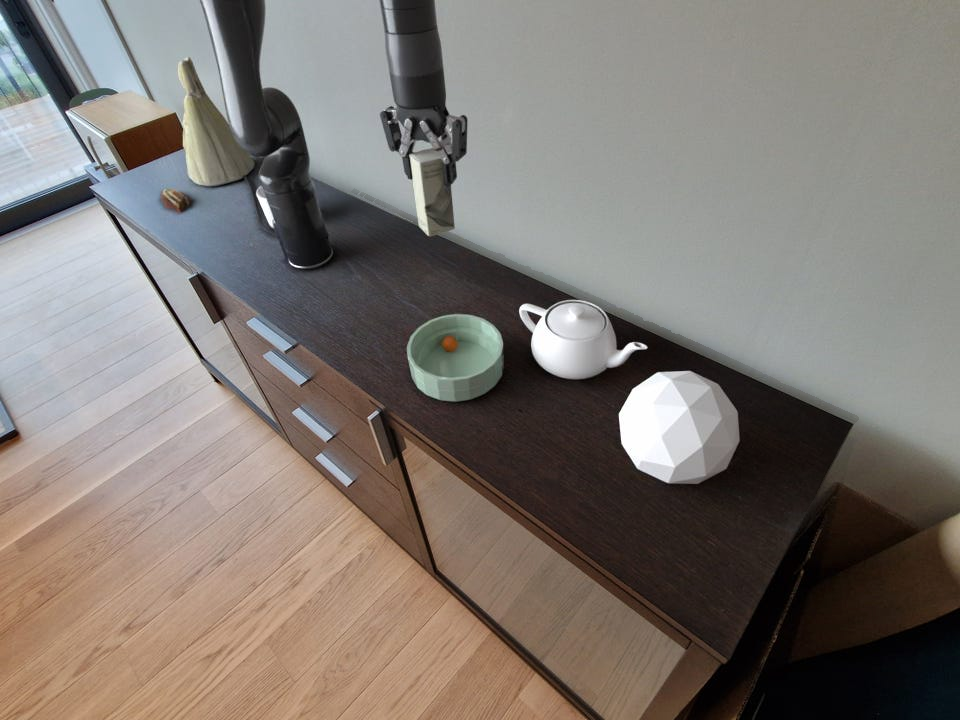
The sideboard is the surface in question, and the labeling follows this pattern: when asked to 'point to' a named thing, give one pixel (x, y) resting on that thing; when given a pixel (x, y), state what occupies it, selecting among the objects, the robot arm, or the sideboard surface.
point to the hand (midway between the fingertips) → (431, 180)
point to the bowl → (456, 357)
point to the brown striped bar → (175, 200)
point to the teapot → (575, 339)
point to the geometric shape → (679, 427)
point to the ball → (449, 344)
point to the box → (431, 193)
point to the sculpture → (208, 136)
